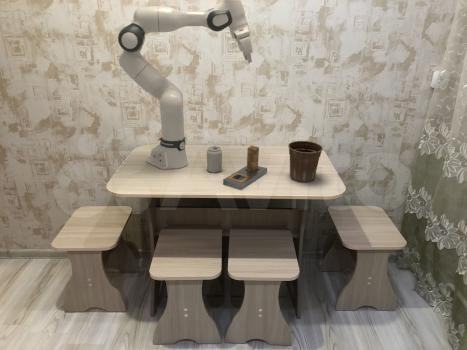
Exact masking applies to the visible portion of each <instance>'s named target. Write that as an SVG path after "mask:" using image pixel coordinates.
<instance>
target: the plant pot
mask: <svg viewBox="0 0 467 350" xmlns="http://www.w3.org/2000/svg"><path fill="white" fill-rule="evenodd" d="M287 145H288V146H287V148H288V154H289V177H290V179H292V180H295V181H296V182H299V183H310V182H312V181H314V180H315V179H316V176H317V175H316V174H317V170H318V166H319V160H320V158H321V155H322V151H323V150H324V146H322V145H321V144H319V143H317V142H314V141H309V140H296V141H291V142H289V143H288V144H287Z"/></svg>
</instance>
